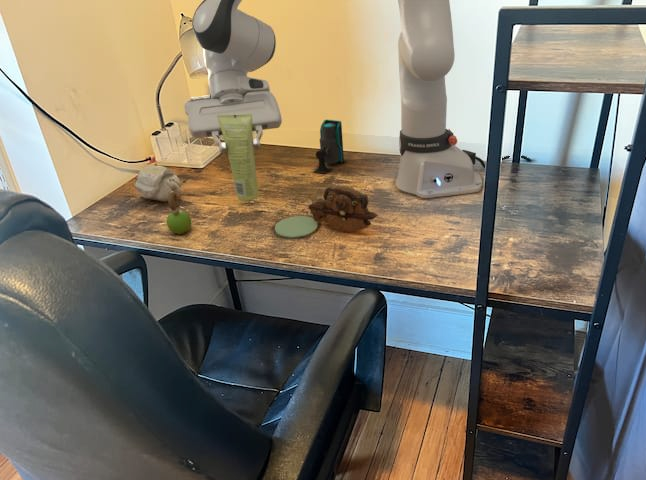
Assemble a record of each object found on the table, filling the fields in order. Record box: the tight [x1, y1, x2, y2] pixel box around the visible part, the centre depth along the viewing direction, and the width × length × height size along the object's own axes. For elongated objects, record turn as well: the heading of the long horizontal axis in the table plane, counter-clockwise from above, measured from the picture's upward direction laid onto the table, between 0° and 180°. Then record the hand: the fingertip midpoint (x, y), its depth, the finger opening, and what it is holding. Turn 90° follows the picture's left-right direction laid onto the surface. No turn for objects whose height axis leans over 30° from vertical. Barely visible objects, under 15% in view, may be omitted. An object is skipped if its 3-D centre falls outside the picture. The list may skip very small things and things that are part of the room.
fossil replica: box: [134, 163, 182, 203], centre depth 140 cm, size 12×8×10 cm
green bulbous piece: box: [166, 179, 192, 235], centre depth 122 cm, size 5×6×12 cm
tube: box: [217, 114, 260, 202], centre depth 120 cm, size 6×5×20 cm
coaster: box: [274, 215, 319, 239], centre depth 124 cm, size 10×10×1 cm
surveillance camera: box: [313, 119, 345, 175], centre depth 151 cm, size 6×12×10 cm
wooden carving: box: [307, 185, 379, 233], centre depth 119 cm, size 16×5×10 cm, turn 70°
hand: (240, 149), depth 118 cm, fingers closed on tube, 6 cm apart
